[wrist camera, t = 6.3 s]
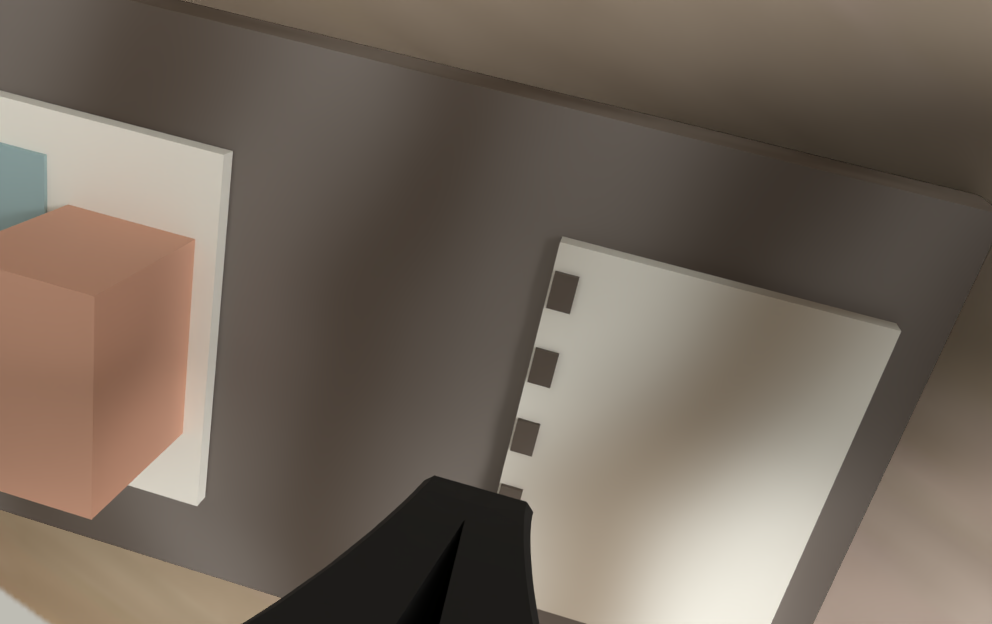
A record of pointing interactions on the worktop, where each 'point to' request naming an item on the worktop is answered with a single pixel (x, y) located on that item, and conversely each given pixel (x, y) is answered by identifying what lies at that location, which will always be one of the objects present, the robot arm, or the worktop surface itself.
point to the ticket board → (519, 317)
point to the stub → (106, 306)
